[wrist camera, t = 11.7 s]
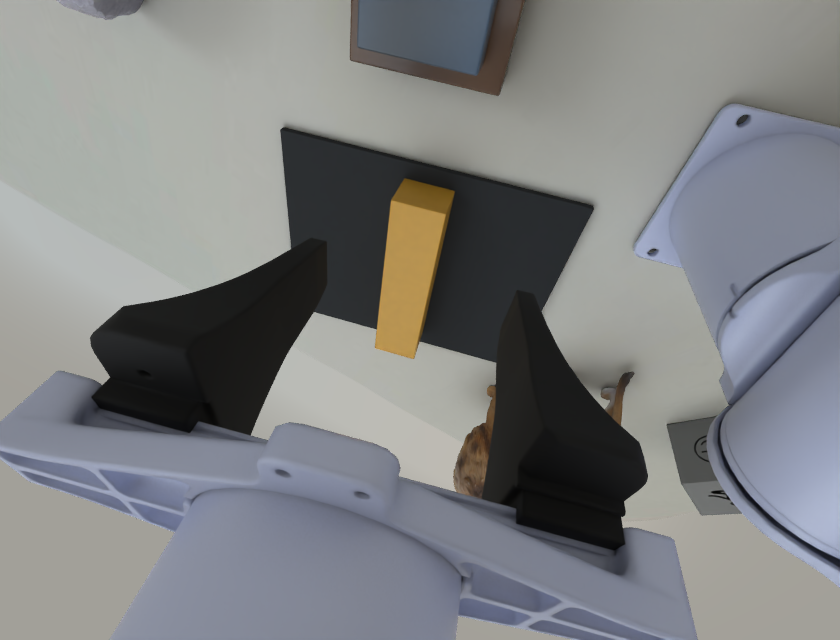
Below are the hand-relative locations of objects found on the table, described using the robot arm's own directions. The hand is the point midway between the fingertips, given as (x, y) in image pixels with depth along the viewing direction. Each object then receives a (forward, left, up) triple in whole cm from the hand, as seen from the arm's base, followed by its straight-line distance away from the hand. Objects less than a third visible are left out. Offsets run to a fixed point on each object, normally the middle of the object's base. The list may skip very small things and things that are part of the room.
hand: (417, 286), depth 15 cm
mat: (+1, +7, -10) cm, 13 cm away
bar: (+2, +7, -10) cm, 12 cm away
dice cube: (-25, +16, -11) cm, 31 cm away
